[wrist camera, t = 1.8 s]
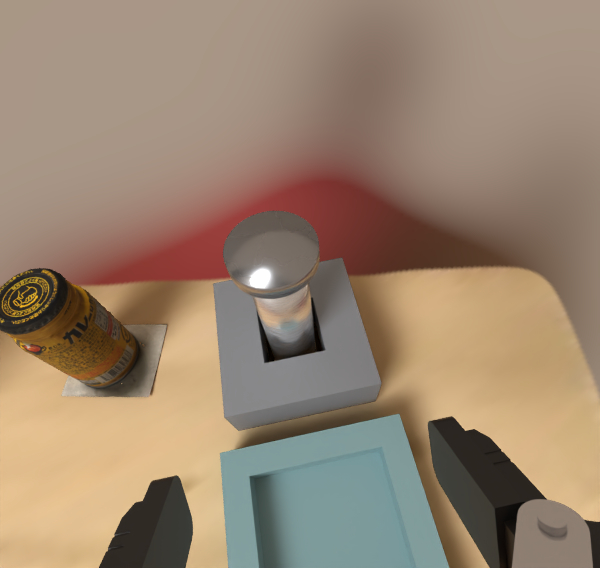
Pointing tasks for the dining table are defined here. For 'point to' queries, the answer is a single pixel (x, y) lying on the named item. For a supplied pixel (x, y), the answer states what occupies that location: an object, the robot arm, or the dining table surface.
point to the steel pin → (277, 276)
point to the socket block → (297, 370)
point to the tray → (329, 501)
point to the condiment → (79, 336)
